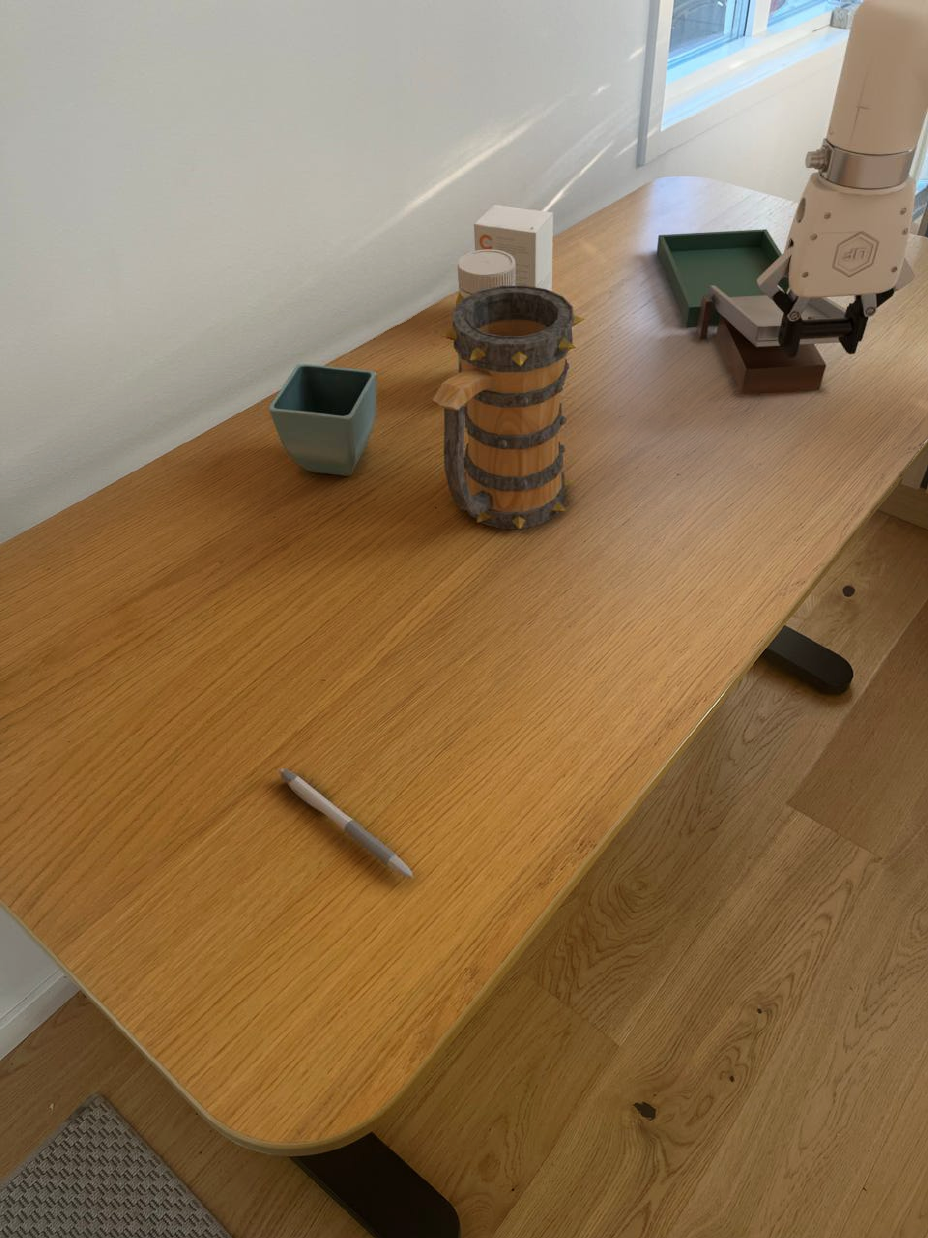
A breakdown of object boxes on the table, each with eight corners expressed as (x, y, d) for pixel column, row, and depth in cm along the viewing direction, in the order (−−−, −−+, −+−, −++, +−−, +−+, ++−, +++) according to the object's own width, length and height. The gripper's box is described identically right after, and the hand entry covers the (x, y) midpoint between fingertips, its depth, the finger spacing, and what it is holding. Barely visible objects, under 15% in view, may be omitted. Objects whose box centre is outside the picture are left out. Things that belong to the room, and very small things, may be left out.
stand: (838, 388, 104) (849, 349, 101) (722, 394, 105) (730, 355, 101) (801, 326, 115) (810, 288, 111) (696, 331, 115) (702, 293, 111)
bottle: (508, 405, 105) (508, 279, 94) (451, 396, 106) (444, 272, 96) (525, 374, 109) (527, 251, 98) (470, 366, 111) (465, 244, 100)
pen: (287, 772, 71) (284, 762, 70) (418, 878, 64) (417, 868, 63) (277, 781, 70) (274, 770, 69) (408, 889, 63) (407, 879, 62)
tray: (806, 320, 115) (811, 300, 113) (686, 327, 116) (689, 306, 114) (762, 247, 130) (766, 228, 128) (656, 253, 130) (658, 234, 128)
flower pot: (361, 491, 95) (350, 417, 88) (282, 481, 96) (266, 408, 90) (386, 442, 101) (377, 370, 94) (311, 434, 102) (297, 362, 96)
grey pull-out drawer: (877, 352, 92) (884, 317, 90) (768, 358, 92) (772, 323, 90) (797, 298, 112) (801, 269, 111) (708, 303, 112) (711, 274, 111)
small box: (551, 312, 120) (554, 211, 110) (534, 335, 116) (536, 232, 106) (494, 302, 122) (493, 202, 113) (476, 324, 118) (472, 223, 109)
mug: (600, 485, 94) (615, 301, 79) (505, 581, 85) (503, 393, 70) (497, 444, 99) (494, 266, 85) (398, 530, 90) (375, 347, 76)
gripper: (780, 184, 78) (742, 373, 91) (981, 172, 78) (914, 363, 91) (757, 152, 83) (724, 335, 96) (945, 141, 83) (887, 326, 96)
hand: (817, 347), depth 93 cm, fingers closed on grey pull-out drawer, 5 cm apart
